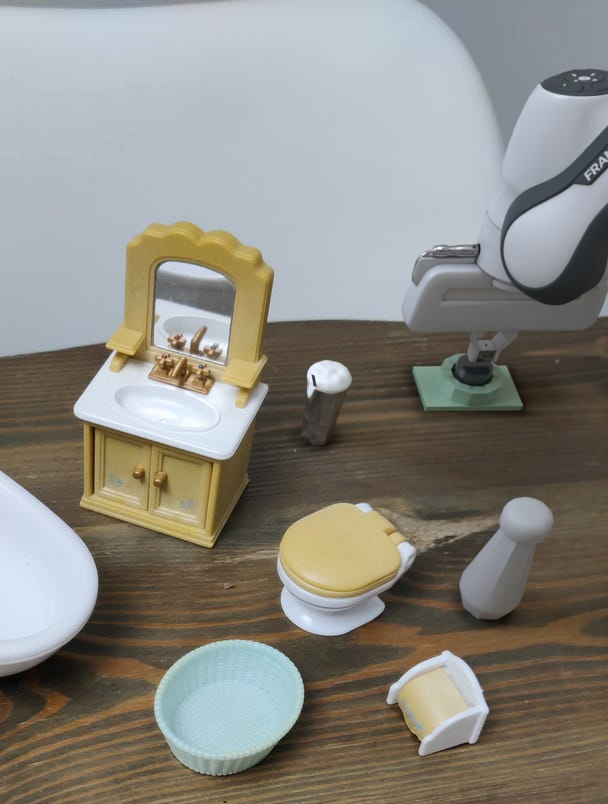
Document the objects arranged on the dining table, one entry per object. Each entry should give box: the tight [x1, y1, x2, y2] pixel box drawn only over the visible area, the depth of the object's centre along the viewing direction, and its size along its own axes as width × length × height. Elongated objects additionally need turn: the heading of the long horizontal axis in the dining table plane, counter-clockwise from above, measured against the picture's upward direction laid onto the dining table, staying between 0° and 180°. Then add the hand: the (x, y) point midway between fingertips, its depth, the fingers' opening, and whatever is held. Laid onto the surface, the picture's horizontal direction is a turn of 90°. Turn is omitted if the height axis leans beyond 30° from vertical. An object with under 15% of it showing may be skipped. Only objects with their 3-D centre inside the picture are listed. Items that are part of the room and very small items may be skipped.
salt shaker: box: [458, 496, 555, 620], centre depth 89 cm, size 6×6×13 cm
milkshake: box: [300, 359, 353, 447], centre depth 103 cm, size 4×5×10 cm
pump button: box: [454, 353, 493, 386], centre depth 110 cm, size 4×4×2 cm
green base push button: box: [411, 353, 524, 412], centre depth 111 cm, size 11×7×2 cm, turn 92°
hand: (481, 358), depth 109 cm, fingers closed
